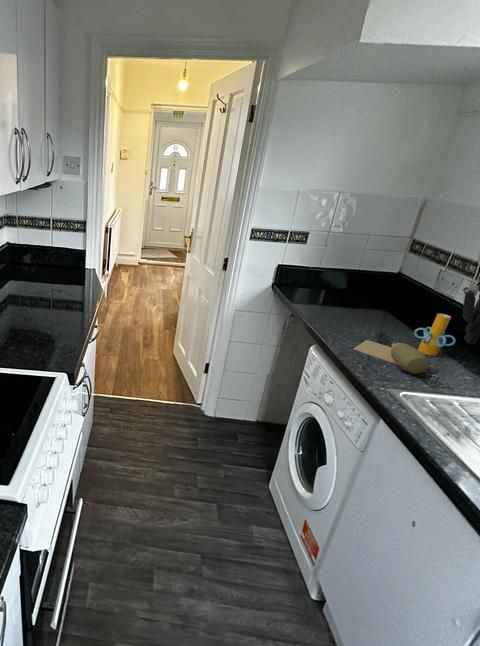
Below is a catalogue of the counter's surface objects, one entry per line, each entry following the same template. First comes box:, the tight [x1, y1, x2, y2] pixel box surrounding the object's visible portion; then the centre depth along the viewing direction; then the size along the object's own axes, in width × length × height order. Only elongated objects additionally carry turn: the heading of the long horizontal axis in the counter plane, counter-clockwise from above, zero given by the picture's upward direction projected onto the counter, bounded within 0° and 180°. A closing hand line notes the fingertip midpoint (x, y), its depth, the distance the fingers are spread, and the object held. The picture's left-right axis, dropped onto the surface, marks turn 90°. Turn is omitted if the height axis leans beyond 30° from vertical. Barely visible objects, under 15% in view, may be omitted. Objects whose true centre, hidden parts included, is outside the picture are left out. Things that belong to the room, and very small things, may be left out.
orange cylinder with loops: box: [413, 313, 457, 357], centre depth 151 cm, size 12×10×15 cm
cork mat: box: [352, 339, 399, 366], centre depth 151 cm, size 18×14×1 cm
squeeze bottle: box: [390, 342, 429, 375], centre depth 142 cm, size 8×8×18 cm
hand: (469, 341), depth 114 cm, fingers closed
